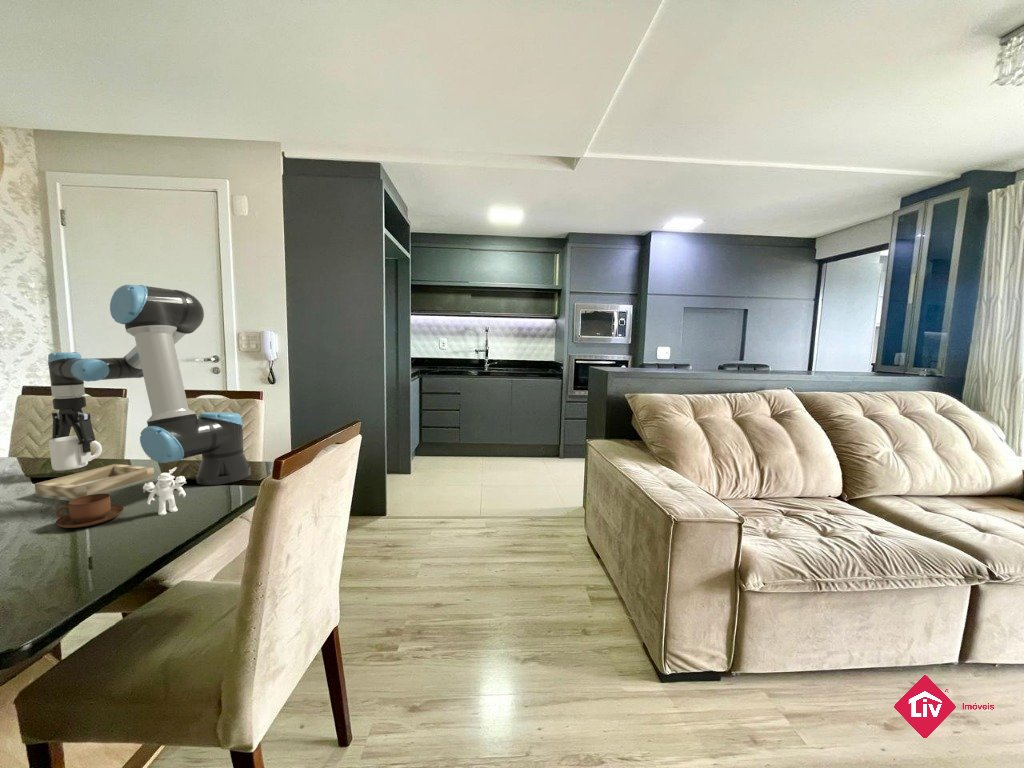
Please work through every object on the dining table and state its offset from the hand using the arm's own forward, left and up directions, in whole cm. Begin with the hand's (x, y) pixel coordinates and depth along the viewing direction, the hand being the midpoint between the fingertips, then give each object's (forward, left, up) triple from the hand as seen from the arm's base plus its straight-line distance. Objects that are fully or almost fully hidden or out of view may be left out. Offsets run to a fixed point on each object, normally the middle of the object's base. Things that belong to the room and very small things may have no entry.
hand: (76, 460), depth 136 cm
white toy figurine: (-63, +17, -5) cm, 65 cm away
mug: (-1, 0, -2) cm, 2 cm away
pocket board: (-23, +8, -5) cm, 25 cm away
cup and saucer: (-50, +26, -5) cm, 56 cm away
